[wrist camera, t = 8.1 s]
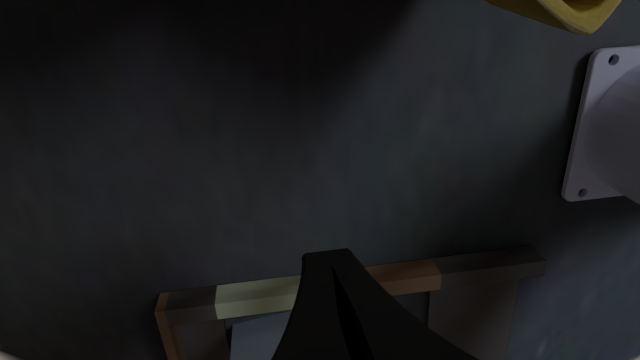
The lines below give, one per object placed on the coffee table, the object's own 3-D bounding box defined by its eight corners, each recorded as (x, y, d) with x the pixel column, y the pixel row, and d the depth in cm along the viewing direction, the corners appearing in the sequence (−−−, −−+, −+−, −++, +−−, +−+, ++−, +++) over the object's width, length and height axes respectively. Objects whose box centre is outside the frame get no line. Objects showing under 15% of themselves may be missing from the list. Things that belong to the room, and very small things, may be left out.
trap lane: (531, 245, 25) (546, 260, 24) (506, 378, 30) (518, 397, 28) (160, 292, 23) (154, 312, 22) (196, 427, 28) (193, 450, 26)
